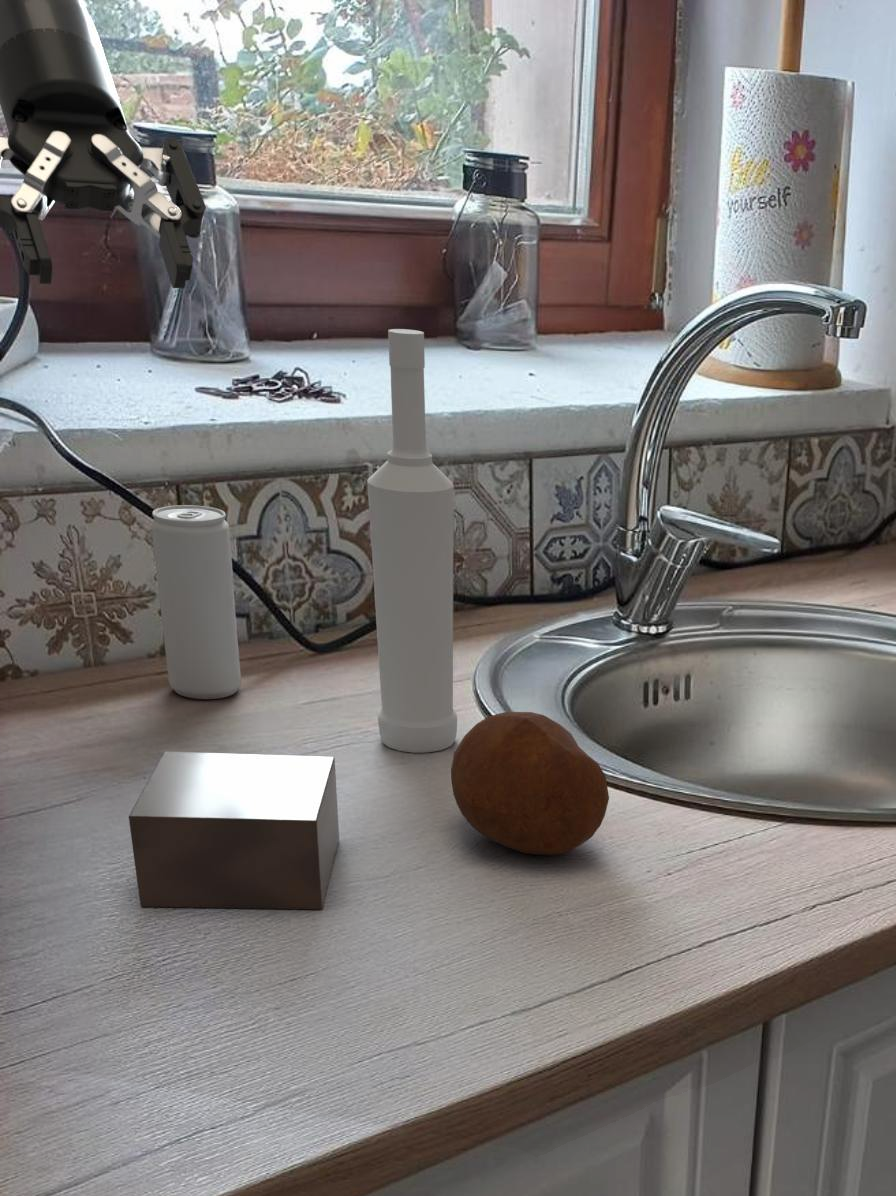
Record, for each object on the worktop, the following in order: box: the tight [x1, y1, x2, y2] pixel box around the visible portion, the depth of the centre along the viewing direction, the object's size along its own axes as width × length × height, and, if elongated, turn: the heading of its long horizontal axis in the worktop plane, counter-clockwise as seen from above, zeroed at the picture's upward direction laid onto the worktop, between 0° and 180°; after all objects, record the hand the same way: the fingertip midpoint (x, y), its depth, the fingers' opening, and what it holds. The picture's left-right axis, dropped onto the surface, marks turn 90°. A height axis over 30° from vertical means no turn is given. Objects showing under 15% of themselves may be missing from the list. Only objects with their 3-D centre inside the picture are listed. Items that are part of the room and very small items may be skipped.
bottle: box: [366, 328, 458, 754], centre depth 95 cm, size 5×5×25 cm
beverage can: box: [150, 504, 242, 700], centre depth 103 cm, size 5×5×12 cm
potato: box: [450, 711, 610, 856], centre depth 87 cm, size 8×11×8 cm
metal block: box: [128, 751, 340, 910], centre depth 81 cm, size 9×9×5 cm
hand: (115, 278), depth 102 cm, fingers open, 8 cm apart
